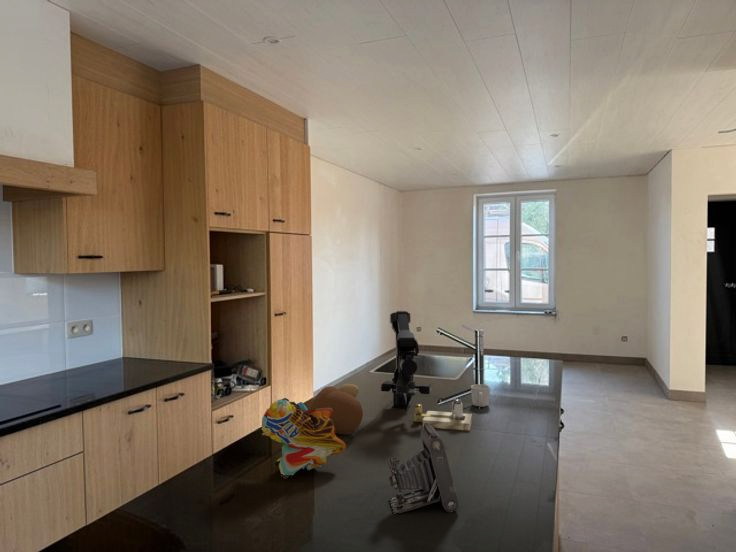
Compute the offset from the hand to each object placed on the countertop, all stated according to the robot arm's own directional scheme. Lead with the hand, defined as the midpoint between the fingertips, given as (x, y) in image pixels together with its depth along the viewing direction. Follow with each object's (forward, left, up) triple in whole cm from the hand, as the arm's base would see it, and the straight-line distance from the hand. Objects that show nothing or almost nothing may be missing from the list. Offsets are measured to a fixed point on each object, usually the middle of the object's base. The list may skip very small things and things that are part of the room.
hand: (406, 409), depth 195 cm
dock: (+15, 0, -4) cm, 16 cm away
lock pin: (+6, 0, -4) cm, 7 cm away
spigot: (+19, 0, -4) cm, 20 cm away
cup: (+26, +26, -4) cm, 37 cm away
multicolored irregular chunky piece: (-21, -52, -4) cm, 56 cm away
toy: (-22, -20, -4) cm, 30 cm away
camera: (+17, -66, -4) cm, 68 cm away
